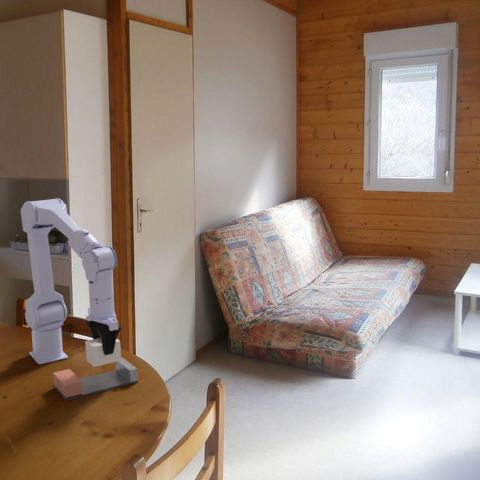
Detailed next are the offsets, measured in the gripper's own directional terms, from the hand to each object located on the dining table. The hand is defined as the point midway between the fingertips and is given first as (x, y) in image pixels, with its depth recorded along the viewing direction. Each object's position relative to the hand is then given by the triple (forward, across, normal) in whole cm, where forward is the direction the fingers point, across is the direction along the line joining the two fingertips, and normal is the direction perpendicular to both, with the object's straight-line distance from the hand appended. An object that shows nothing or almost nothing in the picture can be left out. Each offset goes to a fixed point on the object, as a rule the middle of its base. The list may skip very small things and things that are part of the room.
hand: (104, 350), depth 144 cm
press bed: (+8, 0, -2) cm, 9 cm away
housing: (+2, 0, 0) cm, 3 cm away
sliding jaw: (+7, 0, -10) cm, 12 cm away
